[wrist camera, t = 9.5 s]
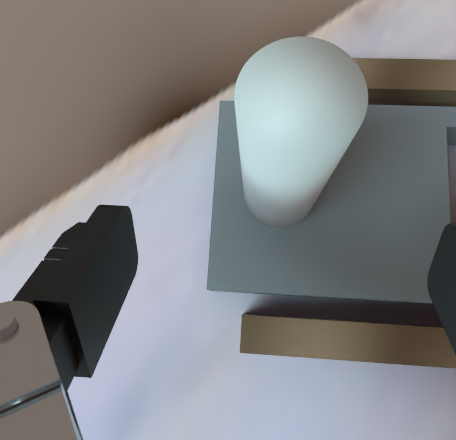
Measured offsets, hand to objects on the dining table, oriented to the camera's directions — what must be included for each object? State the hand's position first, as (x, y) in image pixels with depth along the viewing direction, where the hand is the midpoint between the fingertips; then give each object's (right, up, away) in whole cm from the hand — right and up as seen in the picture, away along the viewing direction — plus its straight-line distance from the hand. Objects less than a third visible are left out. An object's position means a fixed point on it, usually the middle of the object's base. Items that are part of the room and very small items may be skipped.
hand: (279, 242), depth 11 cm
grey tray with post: (+9, +1, +10) cm, 13 cm away
